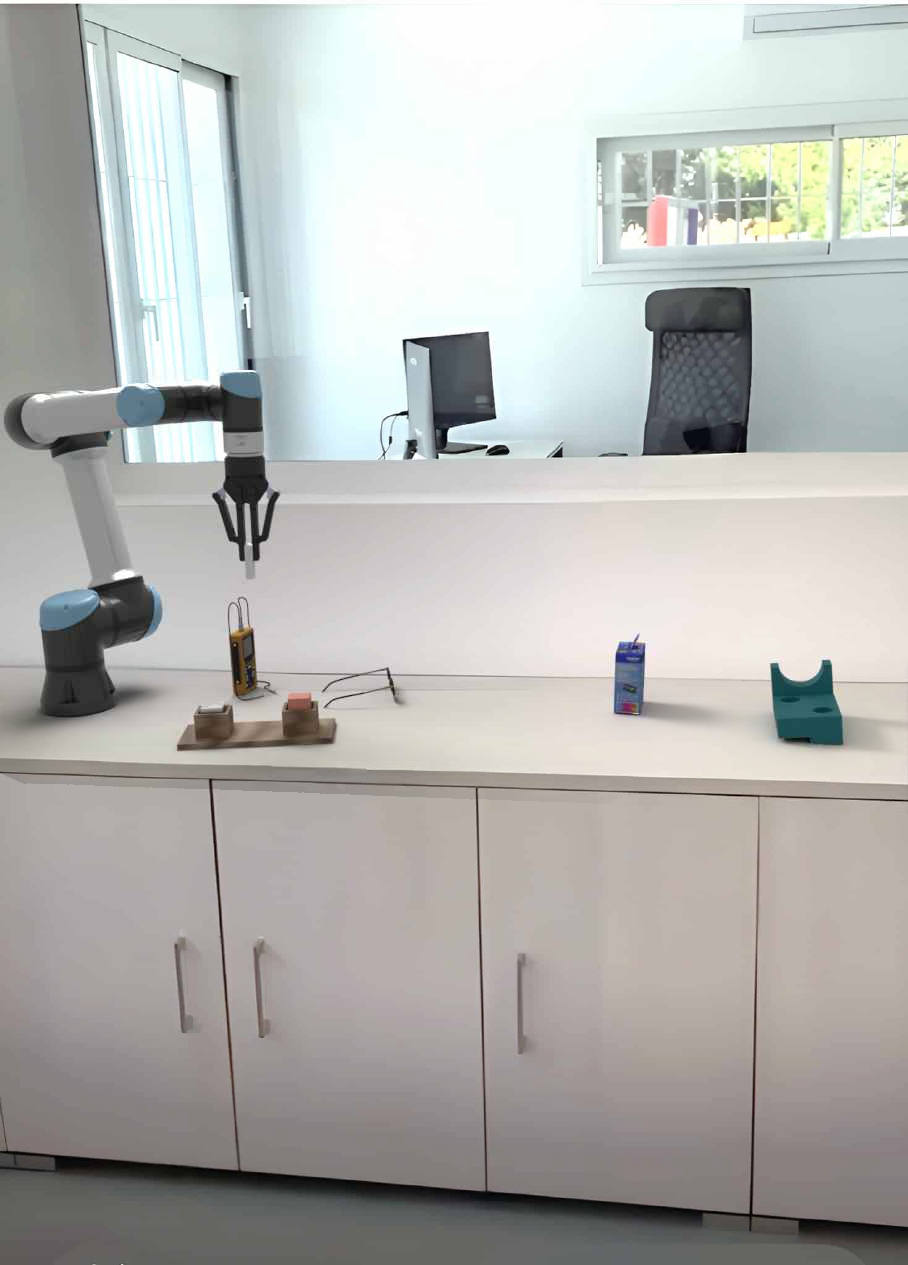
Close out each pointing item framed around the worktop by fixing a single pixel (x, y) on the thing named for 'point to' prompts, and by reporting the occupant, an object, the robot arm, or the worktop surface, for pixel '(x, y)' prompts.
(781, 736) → the teal l-shaped bracket
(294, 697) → the salmon pink plug
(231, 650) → the multimeter
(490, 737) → the worktop surface
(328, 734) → the socket panel
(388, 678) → the sunglasses
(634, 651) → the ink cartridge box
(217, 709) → the steel plug
